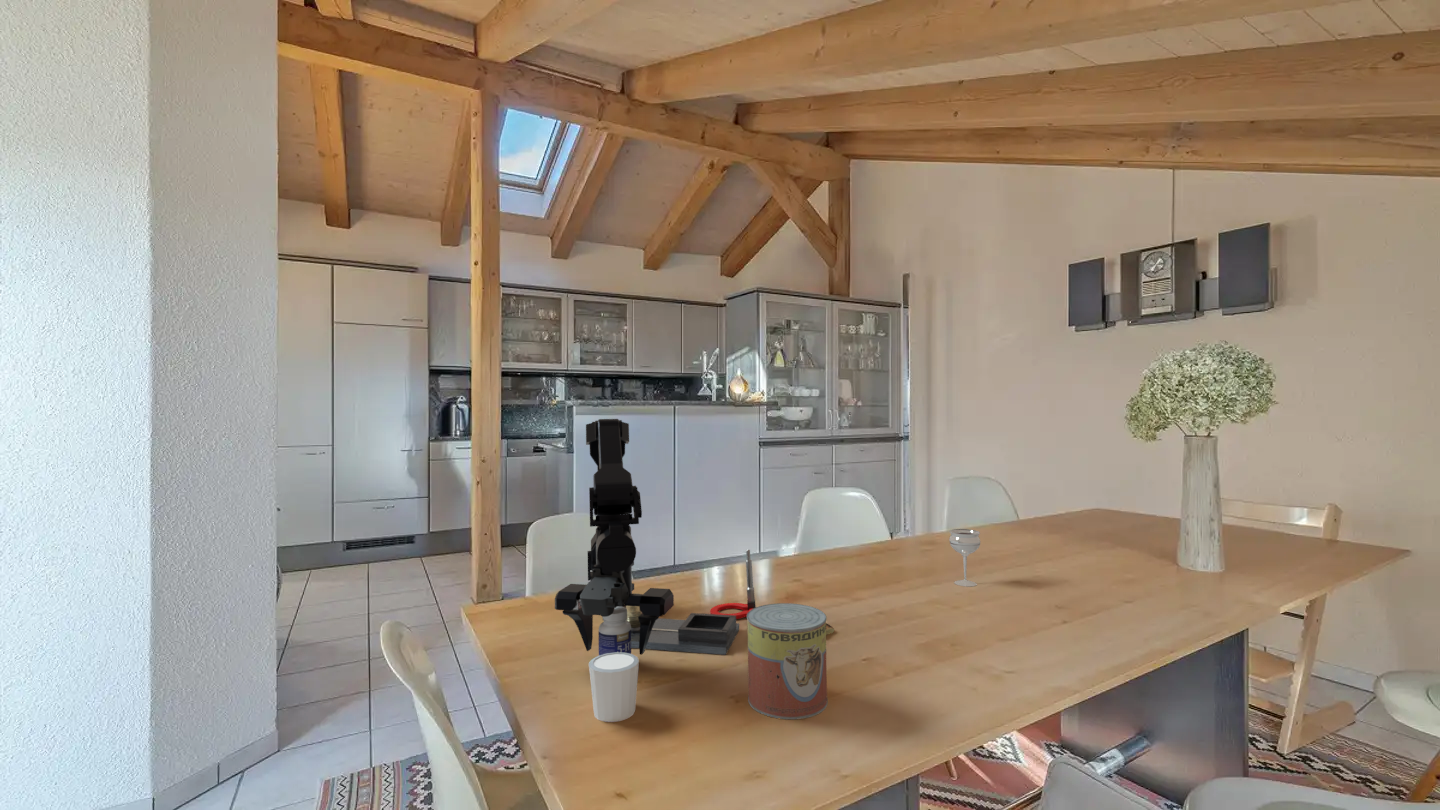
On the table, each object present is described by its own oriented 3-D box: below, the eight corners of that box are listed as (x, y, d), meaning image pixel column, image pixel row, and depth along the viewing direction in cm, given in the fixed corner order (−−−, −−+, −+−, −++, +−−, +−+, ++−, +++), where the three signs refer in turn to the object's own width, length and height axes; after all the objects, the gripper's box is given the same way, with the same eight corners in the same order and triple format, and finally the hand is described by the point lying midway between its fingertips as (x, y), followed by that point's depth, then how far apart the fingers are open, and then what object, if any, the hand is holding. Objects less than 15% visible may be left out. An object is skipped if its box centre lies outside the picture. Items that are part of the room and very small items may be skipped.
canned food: (771, 726, 81) (770, 634, 82) (735, 691, 92) (733, 609, 92) (843, 709, 86) (842, 621, 86) (801, 677, 96) (800, 599, 96)
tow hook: (708, 622, 122) (756, 620, 122) (704, 557, 123) (752, 554, 122) (711, 609, 131) (755, 607, 130) (707, 547, 131) (752, 545, 130)
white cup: (592, 701, 89) (591, 652, 89) (640, 698, 90) (639, 650, 90) (586, 725, 82) (585, 672, 82) (638, 722, 83) (637, 670, 83)
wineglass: (953, 587, 142) (952, 534, 142) (947, 578, 149) (946, 528, 149) (984, 588, 141) (983, 535, 141) (977, 579, 148) (976, 529, 148)
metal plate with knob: (598, 645, 110) (598, 604, 110) (623, 622, 122) (623, 585, 122) (725, 654, 105) (725, 612, 105) (739, 629, 117) (738, 591, 117)
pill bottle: (621, 673, 99) (620, 616, 99) (592, 668, 100) (591, 613, 101) (637, 660, 104) (636, 606, 104) (609, 656, 105) (608, 603, 106)
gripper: (537, 566, 96) (538, 667, 96) (652, 571, 92) (653, 677, 92) (569, 550, 107) (571, 640, 107) (673, 554, 103) (675, 648, 103)
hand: (615, 651), depth 102 cm, fingers open, 9 cm apart
